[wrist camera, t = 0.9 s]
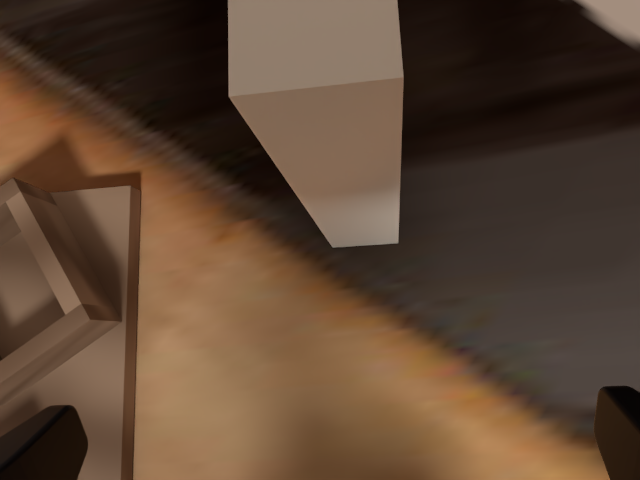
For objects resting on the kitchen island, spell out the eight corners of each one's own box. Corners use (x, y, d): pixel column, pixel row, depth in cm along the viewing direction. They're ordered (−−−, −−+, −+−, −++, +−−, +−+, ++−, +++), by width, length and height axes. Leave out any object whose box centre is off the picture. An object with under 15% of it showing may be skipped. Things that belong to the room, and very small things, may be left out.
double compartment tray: (126, 701, 21) (73, 771, 18) (-87, 689, 22) (-174, 752, 19) (140, 191, 25) (101, 168, 22) (-38, 206, 27) (-102, 187, 23)
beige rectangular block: (398, 243, 23) (403, 76, 8) (332, 247, 23) (228, 96, 9) (392, 159, 24) (387, -125, 9) (328, 165, 24) (227, -99, 10)
